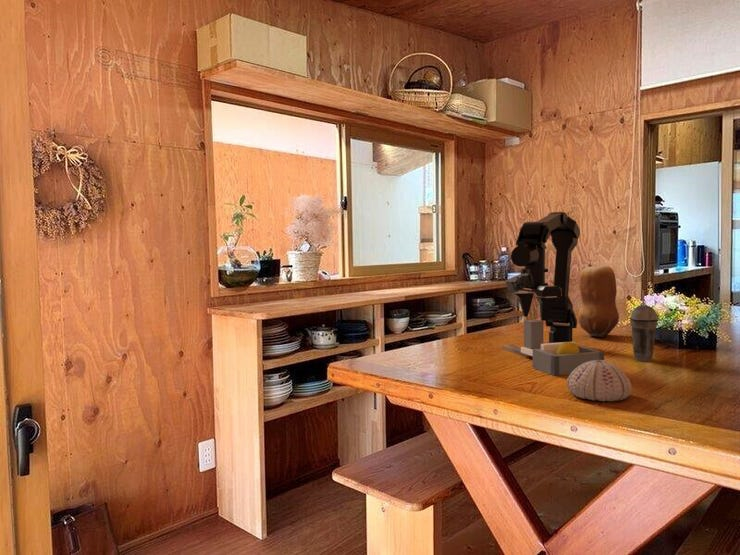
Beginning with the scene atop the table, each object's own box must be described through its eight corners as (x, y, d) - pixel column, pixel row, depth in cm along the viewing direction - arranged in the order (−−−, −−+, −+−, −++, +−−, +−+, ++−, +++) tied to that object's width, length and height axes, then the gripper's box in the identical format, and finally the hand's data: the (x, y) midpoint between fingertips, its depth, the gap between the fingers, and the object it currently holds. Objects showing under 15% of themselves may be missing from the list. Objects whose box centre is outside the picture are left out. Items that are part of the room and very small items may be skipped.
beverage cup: (660, 359, 163) (662, 289, 162) (652, 363, 158) (654, 291, 157) (634, 356, 168) (635, 288, 167) (625, 360, 163) (626, 290, 161)
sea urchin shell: (633, 407, 118) (633, 369, 118) (564, 401, 124) (564, 364, 123) (630, 391, 131) (631, 356, 130) (568, 386, 136) (568, 353, 135)
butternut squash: (577, 332, 210) (578, 264, 208) (617, 334, 205) (618, 264, 204) (578, 339, 197) (578, 266, 195) (620, 340, 192) (621, 266, 191)
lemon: (571, 359, 157) (582, 339, 152) (573, 374, 152) (584, 353, 147) (551, 354, 157) (561, 334, 152) (552, 369, 153) (563, 348, 148)
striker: (544, 350, 172) (544, 319, 171) (575, 360, 157) (575, 326, 157) (514, 352, 169) (514, 320, 168) (543, 363, 155) (543, 328, 154)
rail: (512, 347, 184) (512, 344, 184) (540, 357, 169) (540, 353, 168) (501, 348, 183) (501, 345, 183) (528, 358, 167) (528, 354, 167)
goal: (579, 363, 160) (580, 345, 159) (604, 371, 150) (604, 352, 150) (532, 367, 155) (532, 349, 155) (554, 375, 146) (554, 356, 145)
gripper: (494, 264, 173) (493, 316, 174) (527, 267, 155) (527, 324, 156) (526, 263, 176) (526, 314, 177) (563, 266, 158) (562, 322, 159)
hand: (534, 318), depth 167 cm, fingers open, 9 cm apart
